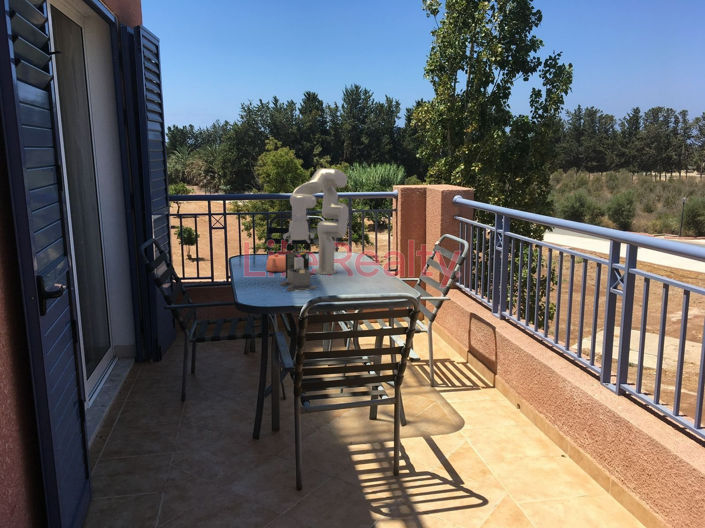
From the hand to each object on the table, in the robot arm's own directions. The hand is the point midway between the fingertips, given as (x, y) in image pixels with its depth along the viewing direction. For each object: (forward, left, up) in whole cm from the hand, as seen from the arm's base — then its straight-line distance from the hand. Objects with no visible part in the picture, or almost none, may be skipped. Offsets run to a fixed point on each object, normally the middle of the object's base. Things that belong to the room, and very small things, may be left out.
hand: (298, 250), depth 301 cm
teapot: (-41, -2, -21) cm, 46 cm away
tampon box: (-20, +5, -21) cm, 29 cm away
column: (0, 0, -20) cm, 20 cm away
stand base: (0, 0, -20) cm, 20 cm away
